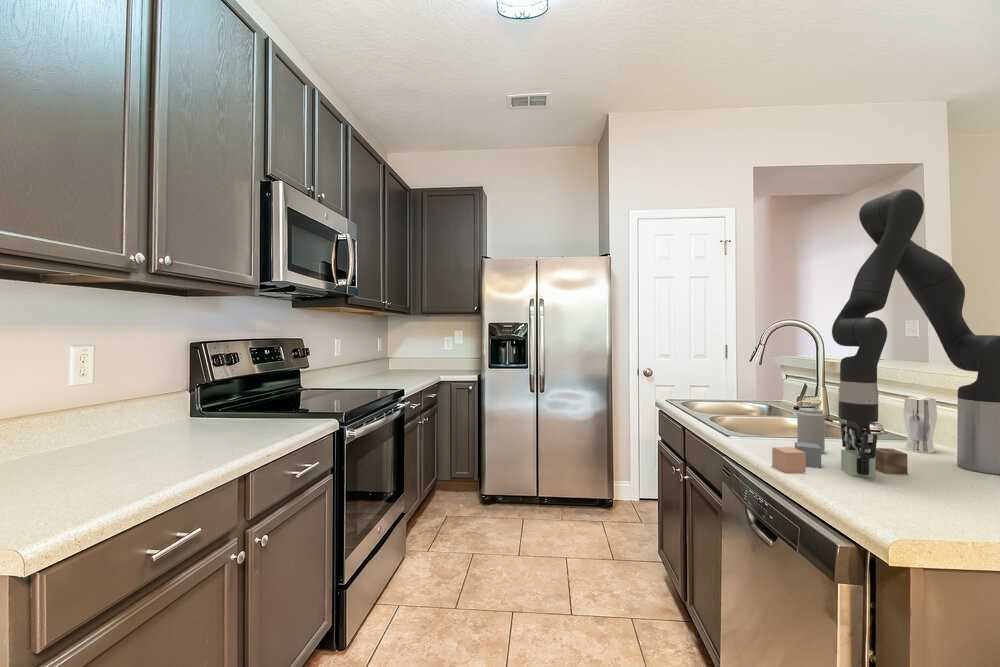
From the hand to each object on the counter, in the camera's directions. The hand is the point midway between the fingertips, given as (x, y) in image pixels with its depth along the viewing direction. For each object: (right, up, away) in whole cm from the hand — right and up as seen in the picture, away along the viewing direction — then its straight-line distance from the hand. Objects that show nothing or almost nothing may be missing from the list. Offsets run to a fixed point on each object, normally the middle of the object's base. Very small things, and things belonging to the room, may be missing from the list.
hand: (857, 470), depth 108 cm
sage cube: (0, -1, 0) cm, 1 cm away
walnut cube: (+9, -1, +2) cm, 10 cm away
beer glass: (+35, -1, +21) cm, 41 cm away
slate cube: (-7, -1, +8) cm, 10 cm away
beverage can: (+3, -1, +20) cm, 20 cm away
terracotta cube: (-15, -1, +3) cm, 15 cm away
